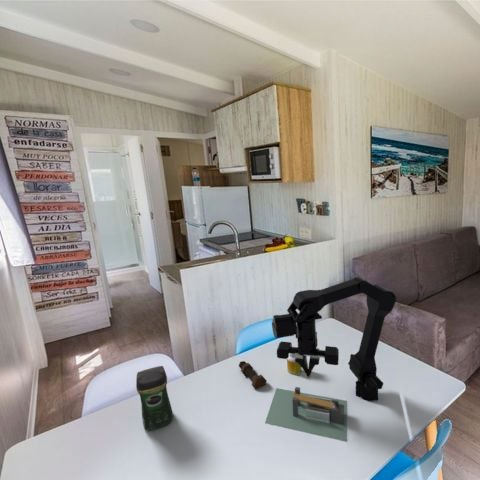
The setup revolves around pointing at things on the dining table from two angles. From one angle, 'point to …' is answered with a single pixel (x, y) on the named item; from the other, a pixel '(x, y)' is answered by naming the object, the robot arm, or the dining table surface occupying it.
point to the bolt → (252, 375)
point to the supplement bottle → (293, 365)
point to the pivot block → (337, 413)
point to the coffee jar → (154, 398)
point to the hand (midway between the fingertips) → (308, 375)
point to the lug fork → (296, 402)
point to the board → (303, 416)
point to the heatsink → (318, 412)
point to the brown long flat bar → (315, 401)
